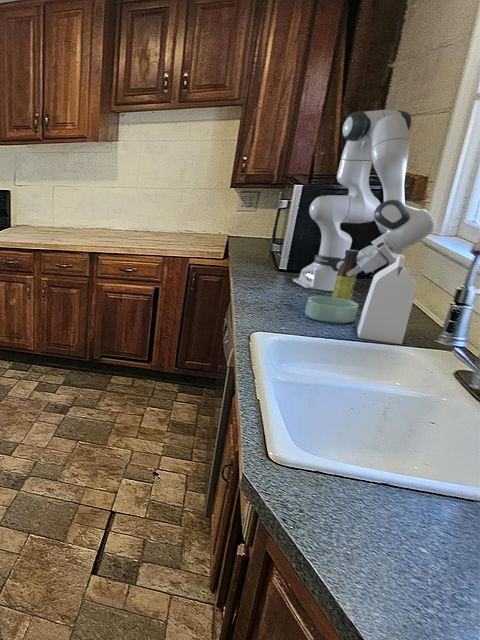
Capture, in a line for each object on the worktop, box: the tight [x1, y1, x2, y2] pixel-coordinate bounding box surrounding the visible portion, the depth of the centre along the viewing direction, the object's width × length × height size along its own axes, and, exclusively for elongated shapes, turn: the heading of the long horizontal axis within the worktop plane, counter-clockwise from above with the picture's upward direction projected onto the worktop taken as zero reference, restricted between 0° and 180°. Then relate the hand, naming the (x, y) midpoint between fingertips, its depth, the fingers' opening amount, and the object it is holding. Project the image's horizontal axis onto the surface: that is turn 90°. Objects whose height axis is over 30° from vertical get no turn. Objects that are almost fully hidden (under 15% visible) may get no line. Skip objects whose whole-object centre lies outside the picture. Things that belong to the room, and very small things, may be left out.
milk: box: [356, 253, 418, 345], centre depth 167 cm, size 12×12×26 cm
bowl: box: [304, 295, 360, 325], centre depth 189 cm, size 16×16×6 cm
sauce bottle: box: [331, 249, 360, 301], centre depth 196 cm, size 6×6×20 cm
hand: (345, 273), depth 196 cm, fingers closed on sauce bottle, 6 cm apart
